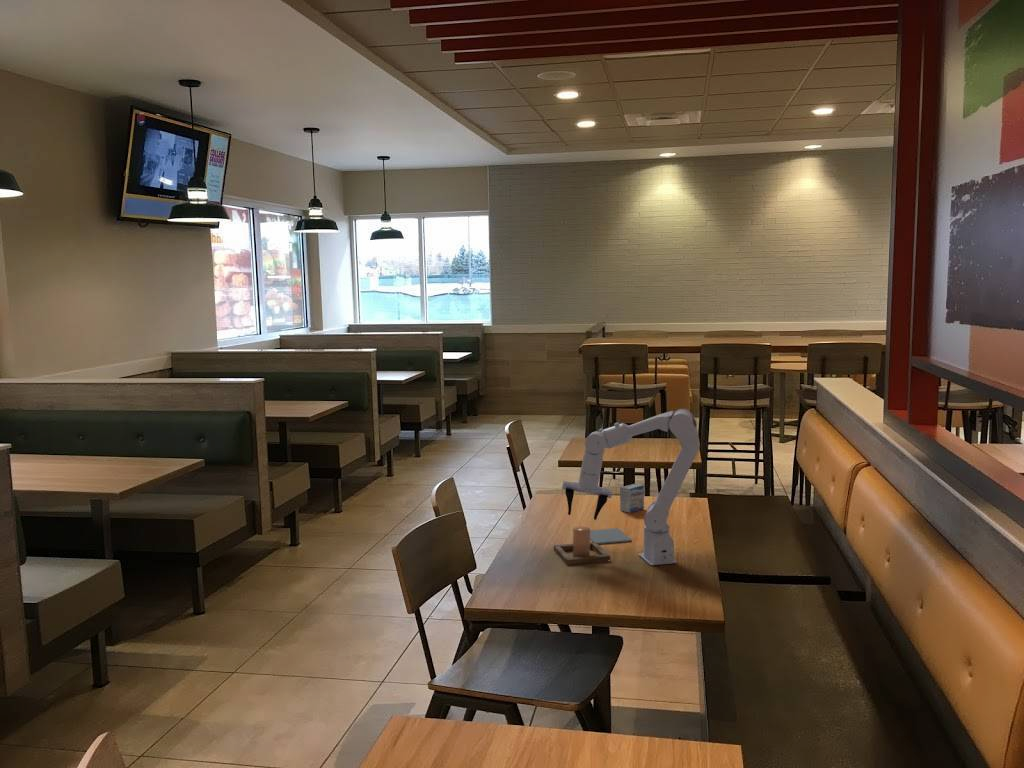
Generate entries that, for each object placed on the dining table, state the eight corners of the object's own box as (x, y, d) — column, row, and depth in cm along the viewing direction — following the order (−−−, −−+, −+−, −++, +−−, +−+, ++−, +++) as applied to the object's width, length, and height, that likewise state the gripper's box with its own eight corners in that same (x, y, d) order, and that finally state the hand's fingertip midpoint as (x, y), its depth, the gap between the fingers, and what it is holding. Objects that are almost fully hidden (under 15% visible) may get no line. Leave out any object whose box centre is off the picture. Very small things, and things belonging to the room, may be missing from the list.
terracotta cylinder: (592, 557, 237) (592, 531, 236) (576, 559, 236) (576, 532, 235) (586, 552, 242) (586, 526, 241) (570, 553, 241) (570, 527, 240)
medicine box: (629, 513, 281) (629, 489, 280) (619, 510, 284) (619, 486, 283) (644, 509, 286) (644, 485, 285) (634, 506, 289) (634, 482, 288)
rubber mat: (631, 541, 251) (631, 539, 251) (594, 544, 248) (594, 542, 248) (617, 529, 263) (617, 528, 263) (582, 532, 260) (582, 531, 260)
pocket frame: (610, 560, 234) (610, 555, 234) (567, 565, 231) (567, 559, 231) (595, 546, 247) (595, 541, 247) (553, 550, 244) (553, 545, 244)
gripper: (565, 471, 234) (557, 515, 237) (615, 480, 234) (606, 525, 236) (566, 465, 241) (558, 508, 244) (614, 473, 241) (606, 517, 243)
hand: (582, 516), depth 240 cm, fingers open, 7 cm apart
